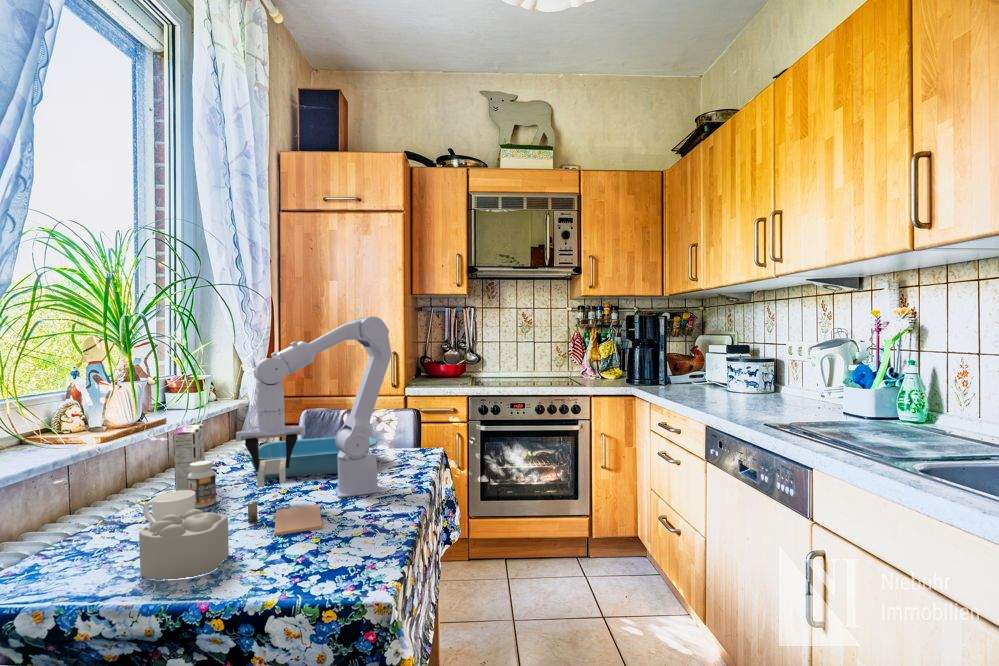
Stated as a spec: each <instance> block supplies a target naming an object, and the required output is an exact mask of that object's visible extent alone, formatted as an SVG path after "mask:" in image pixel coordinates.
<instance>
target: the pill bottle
mask: <svg viewBox="0 0 999 666" xmlns="http://www.w3.org/2000/svg"><path fill="white" fill-rule="evenodd" d="M213 466H214V465H213V461H212V460H205V461H198V462H194V463H191V464H190V470H191V473H190V474H189V475H188V477H187V483H188V490H192V491H195V493H196V504H195V509H199V508H205V507H209V505H210V506H211V505H213V504H215V503H216V501H217V494H216V493H217V492H216V491H217V490H216V488H217V487H216V486H217V485H216V484H217V483H216V472H215V471H214V470H213V469H212V468H213Z"/></svg>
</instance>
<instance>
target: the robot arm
mask: <svg viewBox="0 0 999 666" xmlns="http://www.w3.org/2000/svg"><path fill="white" fill-rule="evenodd" d="M389 332H390V329H389V328H388V327H387V325H386V323H385V322H384V321H383V319H381V318H380V317H378V316H369V317H359V318H357V319H355V320H352V321H347V322H346V323H344V324H342V325H340V326H337V327H335V328H334V329H332V330H330V331H328V332H327V333H324V334H323V335H321V336H319V337H318V338H316V339H314V340H312V341H310V342H306V341H302V340H300V341H298V342H297V341H293V342H291V343H290V346H288V347H286V348H284V349H283V350H280V351H279V352H277V353H276V352H275V351H274V352H272V353H271V354H270V356H271V358H267V357H266V358H263V359H261V360H259V361H258V362H257V363H256V365H255V367H254V370H253V375H254V377H255V379H257V380H256V412H257V414H256V416H257V417H256V418H257V428H255V429H249V430H241V431H236V433H235V441H236V442H242V441H244V445H245V448H246V450H247V451H249V453H250V455H251V457H252V459H253V461H254V465H255V469H256V471H255V473H256V472H258V468H259V464H260V462H259V446H260V445H259V441H260V440H261V439H262V440H263V439H271V438H281V437H282V438H285V441H286V468H289V463H290V457H291V454H292V451H293V448H294V445H295V443H296V441H297V440H298V436H306V425H292V426H290V425H289V426H287V425H286V424H285V420H286V419H285V396H284V392H285V391H284V388H283V387H284V386H283V380H284V378H285V377H286V375H291V374H294V373H295V372H296V371H299V370H301V369H303V368H304V367H306V366H308V365H310V364H312V363H314V360H315V357H316V355H318V354H319V353H321V352H323V351H325V350H327V349H330V348H332V347H334V346H336V345H338V344H341V343H342V342H344V341H347V340H348V341H352V340H353V341H357V342H358V343H359V344H361V345H362V346H363V348H364V350H365V351H366V353H367V354H368V360H367V363H366V366H365V369H364V372H363V374H362V378H361V380H360V383H359V386H358V389H357V391H356V396H355V399H354V401H353V404H352V408H351V411H350V413H349V415H348V416H347V418H346V419H345V420H344V421H343V422H344V423H343V424H342V427H341V428H340V429H339V430H338V431H337V433H336V434H335V436H334V437H335V444H336V446H337V447H338V449H340V451H339V453H338V455H337V457H338V473H337V486H336V487H335V492H336V495H337V498H340V499H341V498H346V497H347V498H348V497H352V496H353V497H354V496H360V495H368V494H376V493H378V491H379V490H378V466H377V465H378V464H377V458H376V457H377V456H376V454H373V453H368V454H367V451H368V449H369V450H370V448H371V447H370V440H369V437H370V435H371V431H372V428H371V418H372V415H373V412H374V409H375V407H376V403H377V400H378V397H379V394H380V392H381V388H382V385H383V382H384V379H385V376H386V372H387V370H388V367H389V365H390V361H391V358H392V349H391V343H390V337H389V334H390V333H389ZM236 442H235V443H236ZM255 469H254V470H255Z"/></svg>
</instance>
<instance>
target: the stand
mask: <svg viewBox="0 0 999 666" xmlns="http://www.w3.org/2000/svg"><path fill="white" fill-rule="evenodd" d="M247 518H248V519H247V520H248V521H247V523H248V524H255V523H257V522H258V520H259V519H258V501H249V502H248V503H247Z"/></svg>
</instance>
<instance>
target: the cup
mask: <svg viewBox="0 0 999 666" xmlns="http://www.w3.org/2000/svg"><path fill="white" fill-rule="evenodd" d="M195 504H196V493H195V491H192V490H179V491H176V490H173V491H168V492H165V493H161V494H160V493H159V494H158V495H156V496H153V497H152V498H151V500H148V501H146V502H145V503H144V505H143V506H142V515H143V517H144V518H145V519H146V521H148V522H149V523H150V524H151V523H155V522H158V521H159V520H160V519H161V518H163V517H164V516H167V515H171V514H175V515H178V516H179V515H181V516H183V514H185V513H186V512H188V511H190V510H192V509H196V508H195ZM150 506H151V513H152V515H151V514H150V511H149V508H150Z"/></svg>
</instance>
